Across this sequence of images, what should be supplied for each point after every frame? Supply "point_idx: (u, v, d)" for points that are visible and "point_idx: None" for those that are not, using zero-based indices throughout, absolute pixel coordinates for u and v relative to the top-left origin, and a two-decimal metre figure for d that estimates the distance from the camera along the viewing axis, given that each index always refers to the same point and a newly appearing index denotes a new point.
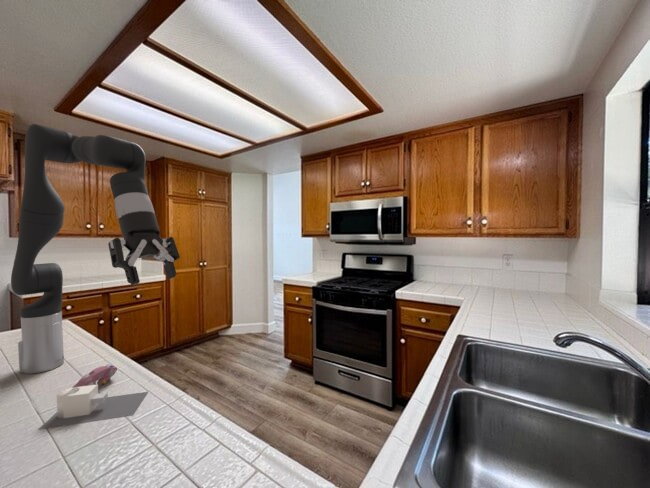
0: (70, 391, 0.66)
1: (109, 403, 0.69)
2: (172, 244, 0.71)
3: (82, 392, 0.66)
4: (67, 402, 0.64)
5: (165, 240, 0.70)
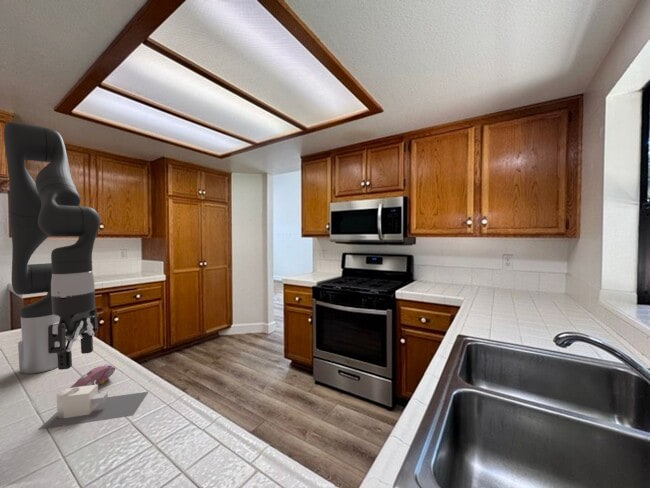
0: (70, 391, 0.66)
1: (109, 403, 0.69)
2: (95, 317, 0.72)
3: (82, 392, 0.66)
4: (67, 402, 0.64)
5: (89, 313, 0.71)
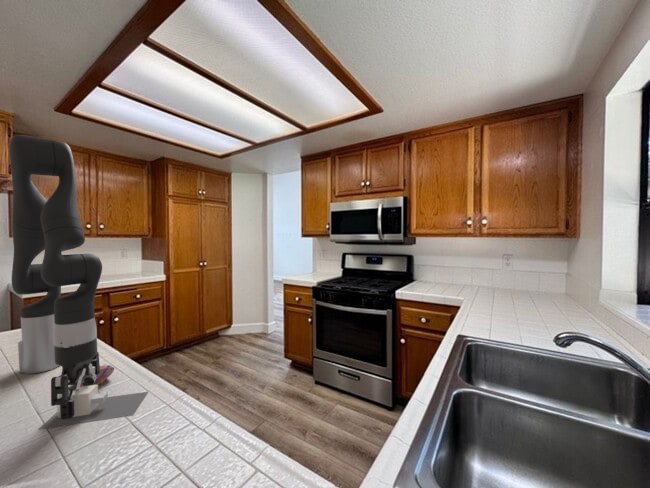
0: None
1: (109, 403, 0.69)
2: (97, 360, 0.72)
3: (82, 392, 0.66)
4: None
5: None
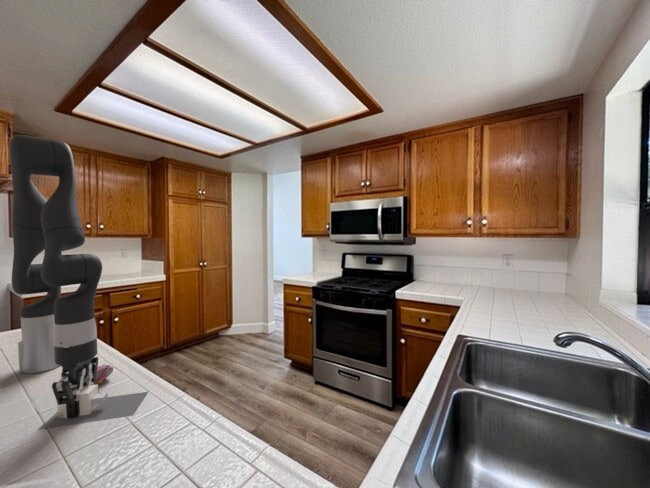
0: None
1: (109, 403, 0.69)
2: (95, 365, 0.72)
3: (82, 392, 0.66)
4: None
5: None
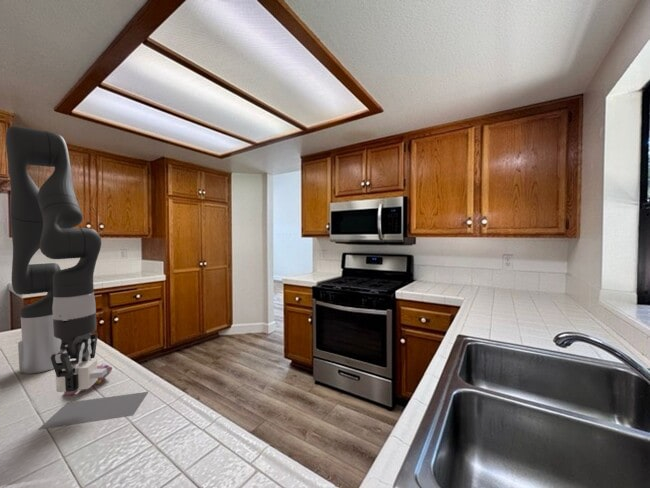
0: None
1: (109, 403, 0.69)
2: (95, 342, 0.71)
3: (81, 366, 0.66)
4: None
5: (90, 336, 0.71)
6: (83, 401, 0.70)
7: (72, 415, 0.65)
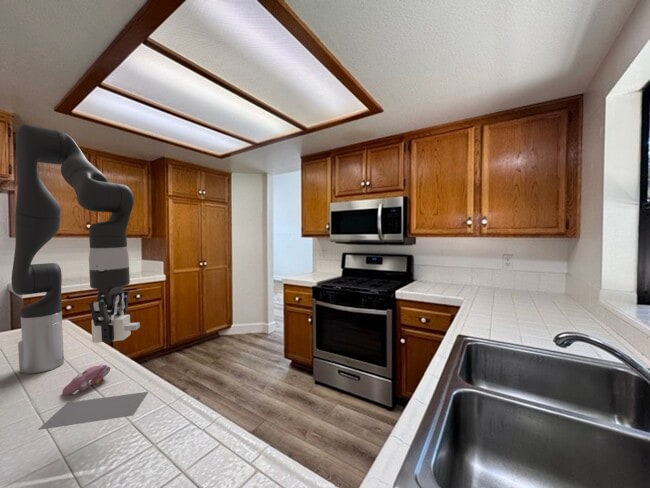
0: None
1: (109, 403, 0.69)
2: (127, 298, 0.73)
3: (116, 318, 0.67)
4: None
5: (122, 292, 0.72)
6: (83, 401, 0.70)
7: (72, 415, 0.65)
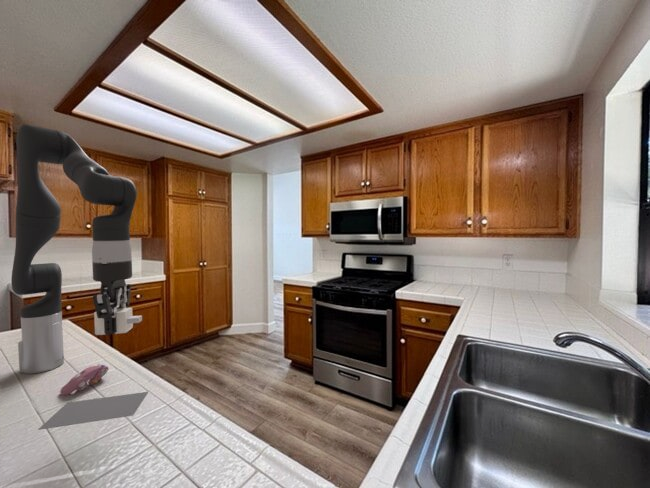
0: None
1: (109, 403, 0.69)
2: (129, 292, 0.73)
3: (118, 311, 0.67)
4: None
5: None
6: (83, 401, 0.70)
7: (72, 415, 0.65)
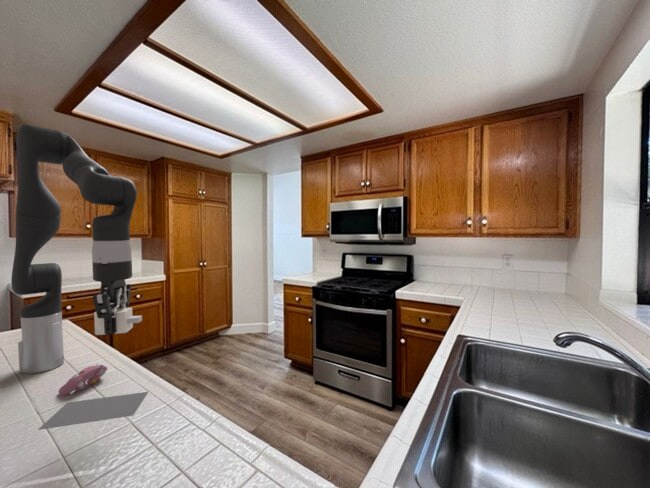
0: None
1: (109, 403, 0.69)
2: (129, 292, 0.73)
3: (118, 311, 0.67)
4: None
5: None
6: (83, 401, 0.70)
7: (72, 415, 0.65)
